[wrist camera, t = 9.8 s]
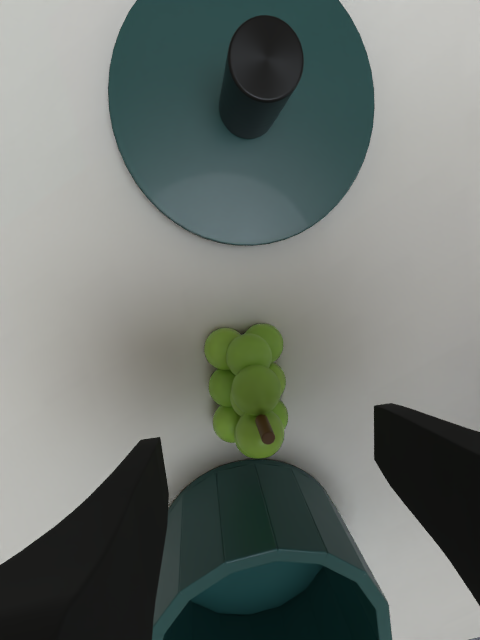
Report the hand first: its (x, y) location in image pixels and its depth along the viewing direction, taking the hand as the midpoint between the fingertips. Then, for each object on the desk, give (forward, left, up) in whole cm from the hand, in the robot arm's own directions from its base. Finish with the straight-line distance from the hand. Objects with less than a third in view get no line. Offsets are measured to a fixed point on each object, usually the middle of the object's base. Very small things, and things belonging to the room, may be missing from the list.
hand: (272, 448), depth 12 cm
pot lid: (+7, -10, -6) cm, 14 cm away
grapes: (0, 0, -7) cm, 7 cm away
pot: (-6, +8, -7) cm, 12 cm away
